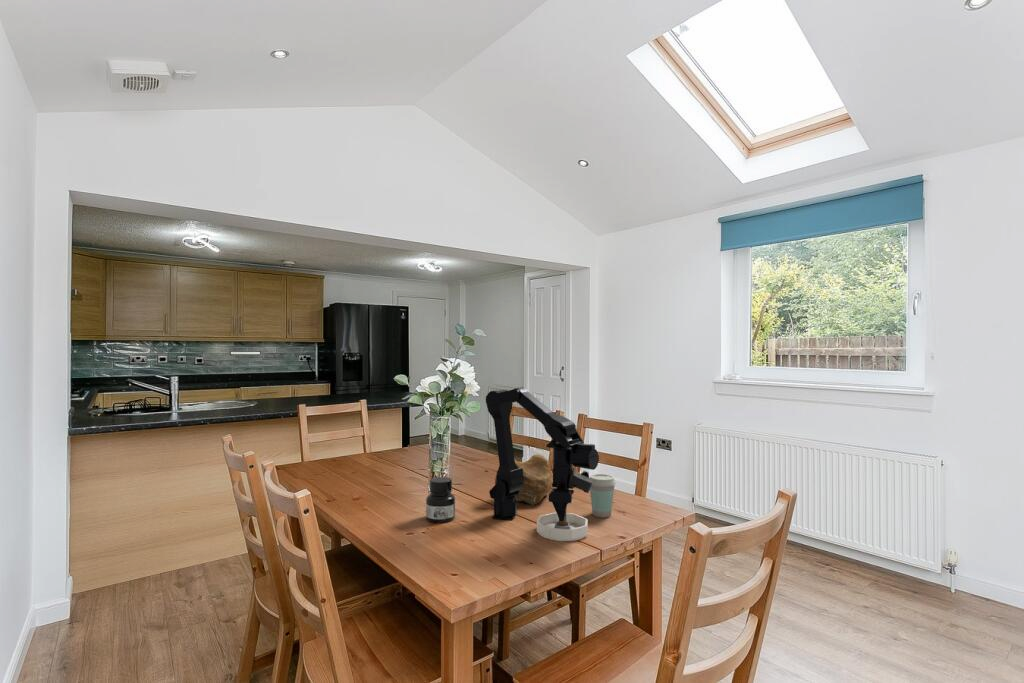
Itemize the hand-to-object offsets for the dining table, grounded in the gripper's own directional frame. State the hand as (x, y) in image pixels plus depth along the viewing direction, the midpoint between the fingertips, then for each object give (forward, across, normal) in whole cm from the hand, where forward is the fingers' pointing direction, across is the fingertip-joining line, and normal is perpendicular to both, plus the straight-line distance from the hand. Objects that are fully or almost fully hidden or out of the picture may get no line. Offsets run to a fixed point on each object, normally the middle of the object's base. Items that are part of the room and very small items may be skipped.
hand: (562, 518), depth 147 cm
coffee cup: (+4, +18, -11) cm, 21 cm away
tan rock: (+4, +29, +14) cm, 32 cm away
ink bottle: (+4, +4, +38) cm, 38 cm away
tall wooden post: (+3, 0, 0) cm, 3 cm away
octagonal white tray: (+4, 0, 0) cm, 4 cm away
